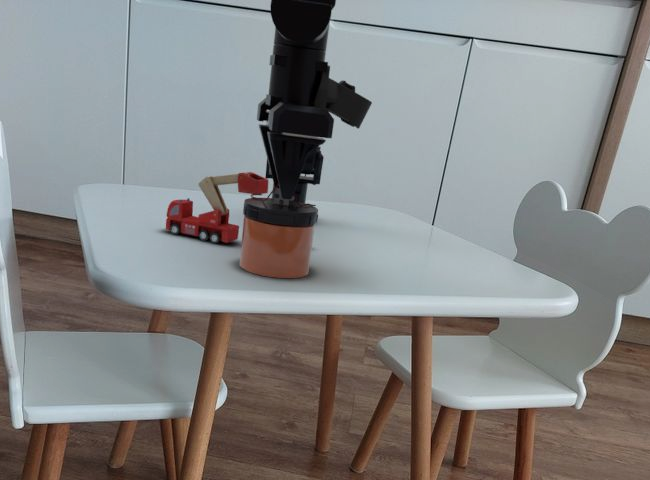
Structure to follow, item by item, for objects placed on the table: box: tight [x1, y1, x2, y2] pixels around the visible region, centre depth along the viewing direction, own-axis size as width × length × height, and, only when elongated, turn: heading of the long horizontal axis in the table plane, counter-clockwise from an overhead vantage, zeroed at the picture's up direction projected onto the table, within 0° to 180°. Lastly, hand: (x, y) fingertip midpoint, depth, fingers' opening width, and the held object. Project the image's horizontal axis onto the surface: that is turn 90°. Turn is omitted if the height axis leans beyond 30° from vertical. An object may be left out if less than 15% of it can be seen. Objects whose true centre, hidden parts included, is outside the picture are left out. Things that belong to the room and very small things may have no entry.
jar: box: [239, 214, 316, 279], centre depth 81 cm, size 8×8×7 cm
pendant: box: [250, 184, 317, 207], centre depth 81 cm, size 8×4×3 cm, turn 85°
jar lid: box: [242, 197, 319, 226], centre depth 80 cm, size 9×9×2 cm
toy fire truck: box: [165, 171, 269, 244], centre depth 91 cm, size 3×14×10 cm, turn 68°
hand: (282, 193), depth 80 cm, fingers open, 7 cm apart
